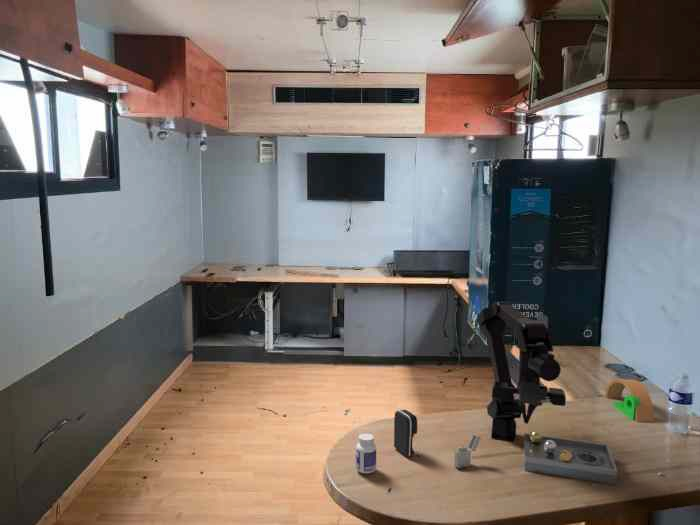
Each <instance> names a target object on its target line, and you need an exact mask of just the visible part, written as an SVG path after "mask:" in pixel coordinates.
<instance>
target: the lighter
mask: <svg viewBox="0 0 700 525" xmlns="http://www.w3.org/2000/svg"><path fill="white" fill-rule="evenodd" d="M481 438H482V437H481V436H480V435H478V434H476V433H473V435H472V437H471V439H470V442H468V446H467V445H465V444H464V445H461V446H459V447H458V449H455V450H454V457H453V458H454V459H453V466H454V467H455V468H457V469H462V468H466V467H470V466H471V458H472V455H471V453H472V452H476V450H477V448H478V445H479V444H480V441H481Z"/></svg>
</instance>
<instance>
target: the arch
mask: <svg viewBox="0 0 700 525" xmlns="http://www.w3.org/2000/svg"><path fill="white" fill-rule="evenodd" d="M625 388H626V389H627V391H628V392H629V393H630V394H629V395H632V396H633V397H638V399H639V401H640V406H636V411H635V415H636V418H635V420H634V421H635V422H636V423H651V422H653V423H654V422H655V415H654V414H655V411H654V405H653V401H652V399H651V395H650V393H649V391H648V390H647V388H646V387H645V386H644V385H643V383H641V382H640V381H639V380H637V379H632V378H631V379H629V378H628V379H627V378H626V379H625V378H623V379H621V378H619V379H617V378H616V379H613V380H611V381H610V382H609V384H608V385H607V388H606V390H605V393H604V397H605V398H606V399H621V398H622V396H623V391H624V389H625Z"/></svg>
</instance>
